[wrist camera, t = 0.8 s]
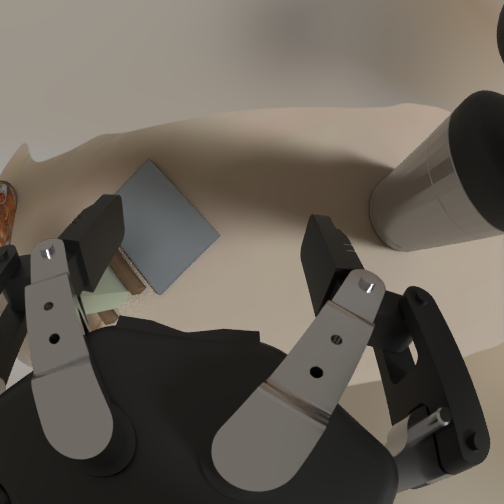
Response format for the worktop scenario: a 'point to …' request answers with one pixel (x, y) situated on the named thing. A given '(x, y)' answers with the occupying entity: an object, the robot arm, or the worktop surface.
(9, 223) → the tin
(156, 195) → the mat
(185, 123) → the worktop surface
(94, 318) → the offcut top
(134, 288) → the rack
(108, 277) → the sage green upright pillar
